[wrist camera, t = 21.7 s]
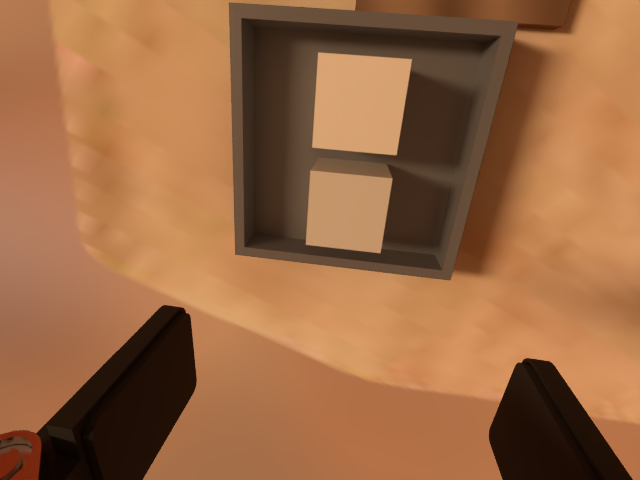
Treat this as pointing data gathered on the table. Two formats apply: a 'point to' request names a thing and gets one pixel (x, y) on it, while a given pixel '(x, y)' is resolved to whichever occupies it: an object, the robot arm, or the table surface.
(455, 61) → the charcoal bin
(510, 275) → the table surface
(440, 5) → the walnut board
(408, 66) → the peach cube
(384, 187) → the beige cube
